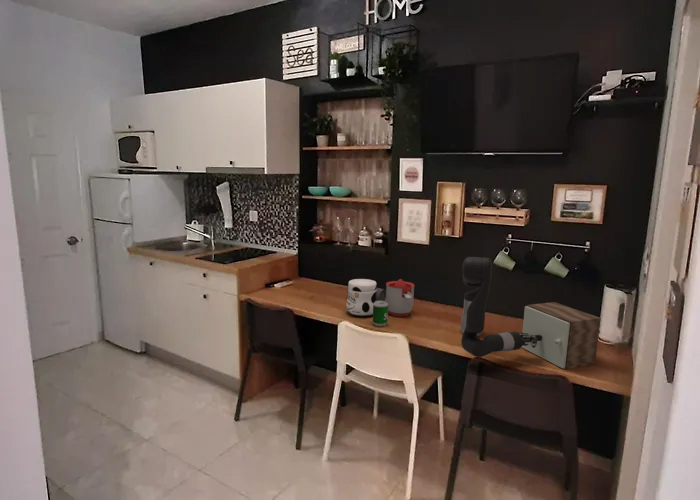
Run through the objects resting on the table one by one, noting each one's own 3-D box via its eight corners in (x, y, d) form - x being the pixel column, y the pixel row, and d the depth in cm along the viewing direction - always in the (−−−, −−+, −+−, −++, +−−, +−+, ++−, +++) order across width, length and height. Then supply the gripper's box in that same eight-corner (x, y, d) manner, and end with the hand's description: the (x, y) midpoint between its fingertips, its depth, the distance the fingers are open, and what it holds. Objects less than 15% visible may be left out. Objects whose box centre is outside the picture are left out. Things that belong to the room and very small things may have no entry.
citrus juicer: (395, 320, 233) (396, 284, 229) (379, 311, 248) (381, 276, 245) (420, 317, 239) (422, 281, 235) (403, 308, 254) (405, 274, 251)
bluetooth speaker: (346, 300, 269) (346, 284, 267) (355, 296, 276) (355, 281, 275) (378, 307, 256) (379, 290, 254) (386, 303, 264) (387, 287, 262)
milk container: (340, 314, 240) (340, 282, 237) (356, 307, 255) (357, 276, 252) (367, 320, 231) (368, 287, 228) (382, 312, 246) (384, 281, 243)
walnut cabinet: (566, 369, 178) (571, 321, 175) (523, 347, 200) (527, 305, 197) (594, 363, 184) (600, 318, 181) (550, 343, 206) (554, 302, 203)
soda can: (381, 328, 221) (381, 305, 219) (369, 324, 226) (370, 301, 224) (390, 324, 226) (391, 302, 224) (378, 321, 231) (379, 299, 229)
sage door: (559, 368, 177) (564, 323, 174) (518, 347, 199) (522, 306, 196) (564, 368, 178) (570, 323, 175) (523, 346, 200) (526, 306, 197)
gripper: (519, 338, 175) (553, 334, 181) (497, 327, 188) (530, 324, 194) (517, 356, 177) (551, 351, 183) (496, 344, 189) (528, 340, 195)
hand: (540, 337), depth 188 cm, fingers closed
